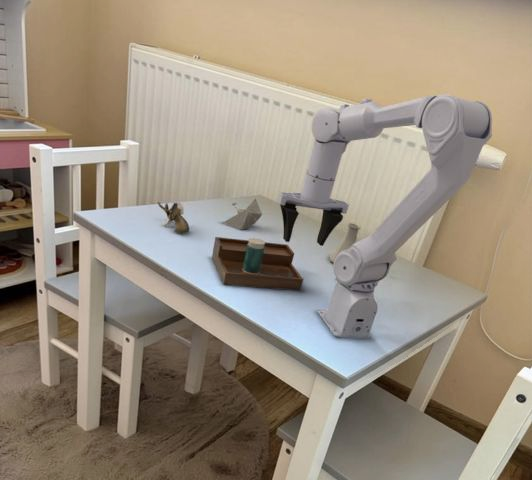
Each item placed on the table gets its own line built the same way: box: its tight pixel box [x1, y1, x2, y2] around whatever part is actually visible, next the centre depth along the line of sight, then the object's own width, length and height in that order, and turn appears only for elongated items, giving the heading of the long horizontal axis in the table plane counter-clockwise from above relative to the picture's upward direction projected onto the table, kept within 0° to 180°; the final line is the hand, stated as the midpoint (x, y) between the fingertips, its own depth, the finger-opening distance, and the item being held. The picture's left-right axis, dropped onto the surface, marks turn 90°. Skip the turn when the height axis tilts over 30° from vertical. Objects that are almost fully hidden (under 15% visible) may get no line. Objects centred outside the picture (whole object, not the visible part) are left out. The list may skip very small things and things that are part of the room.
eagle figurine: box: [157, 201, 190, 235], centre depth 125 cm, size 8×7×9 cm
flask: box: [329, 222, 361, 264], centre depth 129 cm, size 7×7×10 cm
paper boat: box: [222, 198, 263, 231], centre depth 138 cm, size 12×6×9 cm
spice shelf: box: [211, 236, 304, 291], centre depth 112 cm, size 13×17×5 cm
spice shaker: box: [242, 237, 266, 273], centre depth 108 cm, size 4×4×6 cm
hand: (303, 242), depth 106 cm, fingers open, 7 cm apart
